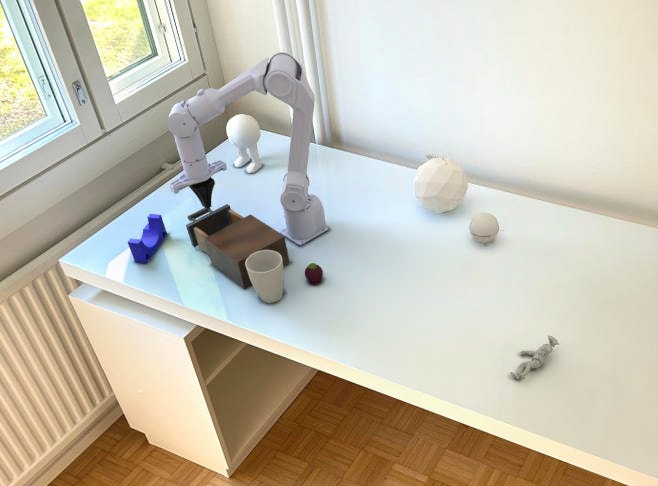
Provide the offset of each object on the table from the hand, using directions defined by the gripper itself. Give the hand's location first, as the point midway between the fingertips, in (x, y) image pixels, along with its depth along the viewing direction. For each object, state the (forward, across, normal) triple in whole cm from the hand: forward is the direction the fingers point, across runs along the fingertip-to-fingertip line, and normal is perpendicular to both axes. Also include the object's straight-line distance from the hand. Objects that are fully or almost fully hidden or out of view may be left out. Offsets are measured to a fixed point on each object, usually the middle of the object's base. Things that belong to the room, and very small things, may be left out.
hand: (207, 206), depth 179 cm
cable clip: (+9, +14, -9) cm, 19 cm away
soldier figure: (+10, -19, +87) cm, 89 cm away
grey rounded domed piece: (+10, -45, +52) cm, 70 cm away
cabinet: (+9, 0, +16) cm, 18 cm away
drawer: (+8, 0, +3) cm, 9 cm away
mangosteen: (+9, -6, +32) cm, 34 cm away
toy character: (+10, -27, -22) cm, 36 cm away
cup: (+10, +4, +29) cm, 31 cm away
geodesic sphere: (+10, -48, +33) cm, 59 cm away
